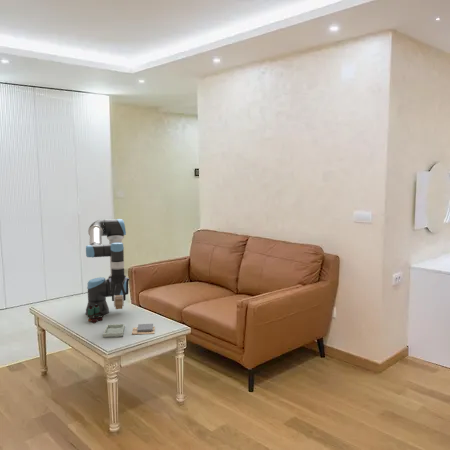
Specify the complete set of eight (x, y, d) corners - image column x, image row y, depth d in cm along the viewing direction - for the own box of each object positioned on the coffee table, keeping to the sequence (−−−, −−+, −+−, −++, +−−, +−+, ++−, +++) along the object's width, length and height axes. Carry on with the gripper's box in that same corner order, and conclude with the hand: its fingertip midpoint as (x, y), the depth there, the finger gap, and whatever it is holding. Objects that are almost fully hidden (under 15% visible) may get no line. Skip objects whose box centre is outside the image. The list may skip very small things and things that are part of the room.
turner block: (115, 305, 272) (115, 295, 272) (122, 304, 273) (122, 295, 273) (115, 309, 262) (115, 299, 262) (122, 308, 263) (122, 298, 263)
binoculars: (95, 309, 274) (85, 305, 279) (95, 325, 275) (85, 320, 281) (107, 305, 281) (97, 301, 286) (106, 321, 283) (96, 316, 288)
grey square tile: (138, 324, 269) (137, 329, 260) (153, 323, 271) (152, 329, 261) (138, 326, 270) (137, 332, 260) (153, 325, 271) (152, 331, 261)
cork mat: (133, 328, 267) (133, 327, 267) (154, 327, 269) (154, 326, 269) (131, 334, 257) (131, 334, 256) (154, 333, 258) (154, 333, 258)
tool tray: (106, 328, 268) (106, 324, 268) (125, 327, 269) (125, 323, 269) (102, 337, 252) (102, 334, 252) (122, 336, 253) (122, 333, 253)
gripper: (102, 269, 261) (103, 308, 263) (131, 268, 263) (133, 306, 266) (103, 267, 268) (105, 305, 270) (132, 266, 271) (133, 303, 273)
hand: (119, 305), depth 268 cm, fingers closed on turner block, 4 cm apart
